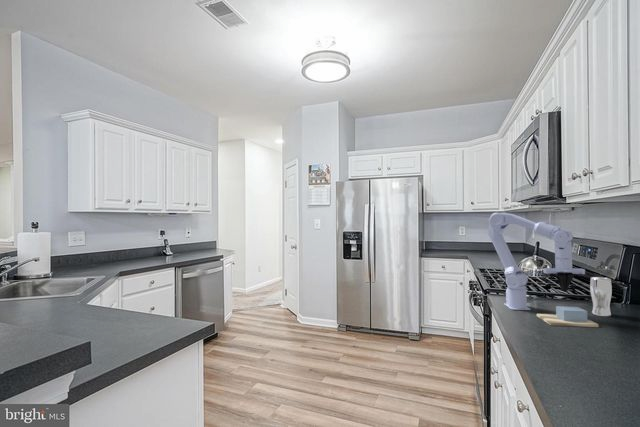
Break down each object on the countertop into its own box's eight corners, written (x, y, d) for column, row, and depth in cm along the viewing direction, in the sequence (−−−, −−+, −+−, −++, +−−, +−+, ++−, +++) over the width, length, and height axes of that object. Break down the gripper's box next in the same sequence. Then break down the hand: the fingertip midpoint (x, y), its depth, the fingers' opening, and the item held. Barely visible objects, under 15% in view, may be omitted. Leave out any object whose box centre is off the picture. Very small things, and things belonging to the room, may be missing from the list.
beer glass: (589, 311, 144) (588, 276, 144) (610, 313, 141) (609, 277, 141) (592, 315, 138) (591, 279, 138) (614, 317, 135) (613, 280, 135)
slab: (555, 306, 135) (578, 306, 133) (556, 316, 135) (578, 316, 133) (563, 310, 129) (587, 311, 127) (564, 320, 129) (587, 321, 127)
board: (536, 316, 139) (536, 313, 139) (580, 317, 136) (579, 315, 136) (550, 325, 127) (550, 322, 127) (598, 327, 124) (598, 324, 124)
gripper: (548, 259, 135) (549, 292, 135) (589, 259, 132) (590, 293, 132) (540, 257, 142) (541, 289, 142) (579, 257, 139) (579, 289, 139)
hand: (564, 291), depth 138 cm, fingers closed
